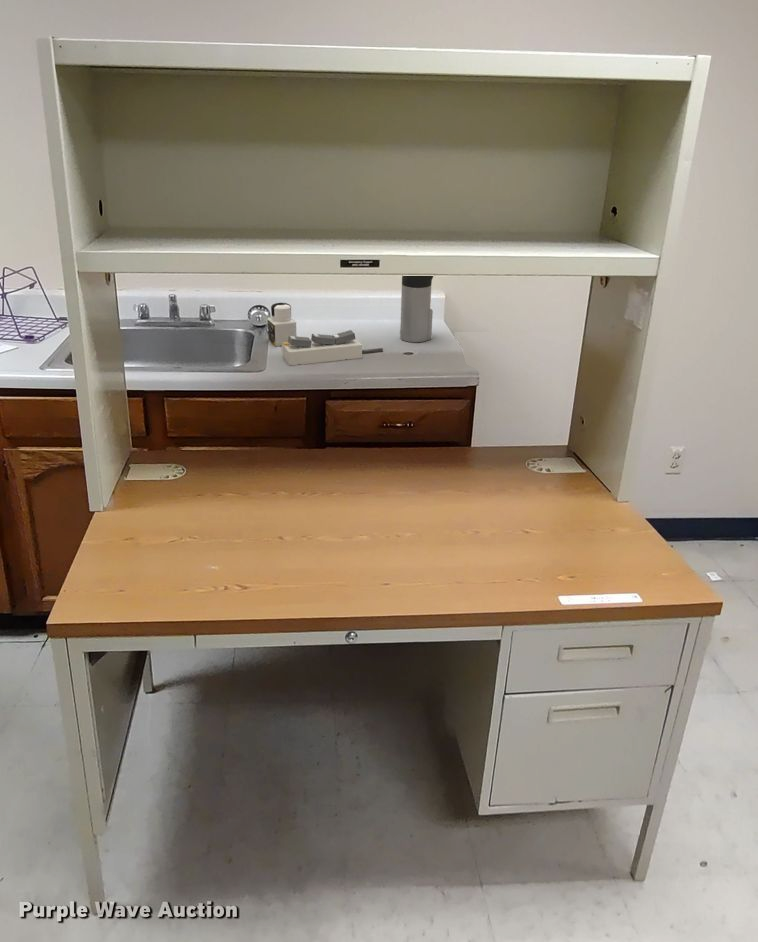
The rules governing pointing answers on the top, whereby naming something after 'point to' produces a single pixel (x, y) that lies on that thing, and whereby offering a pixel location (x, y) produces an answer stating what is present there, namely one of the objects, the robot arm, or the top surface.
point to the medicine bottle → (280, 324)
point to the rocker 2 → (344, 337)
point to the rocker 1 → (299, 341)
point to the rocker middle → (323, 339)
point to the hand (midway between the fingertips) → (286, 259)
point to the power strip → (323, 352)
